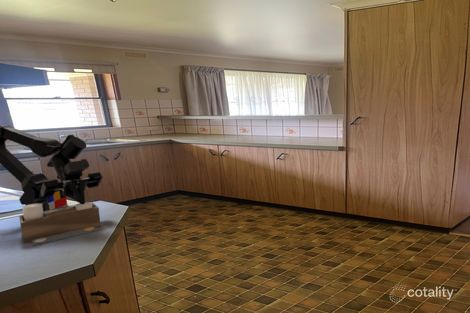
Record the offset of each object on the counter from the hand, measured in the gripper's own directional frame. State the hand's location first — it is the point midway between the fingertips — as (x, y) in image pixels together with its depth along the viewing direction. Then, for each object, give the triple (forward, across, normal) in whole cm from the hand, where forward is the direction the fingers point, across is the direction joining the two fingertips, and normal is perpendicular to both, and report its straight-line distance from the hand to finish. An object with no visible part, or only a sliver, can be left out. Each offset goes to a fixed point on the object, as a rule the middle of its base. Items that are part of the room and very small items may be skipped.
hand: (83, 203), depth 103 cm
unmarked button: (0, -14, +5) cm, 15 cm away
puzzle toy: (-21, +2, +31) cm, 38 cm away
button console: (+4, -7, +6) cm, 10 cm away
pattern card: (+9, -9, +2) cm, 12 cm away
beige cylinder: (+5, 0, +5) cm, 6 cm away
